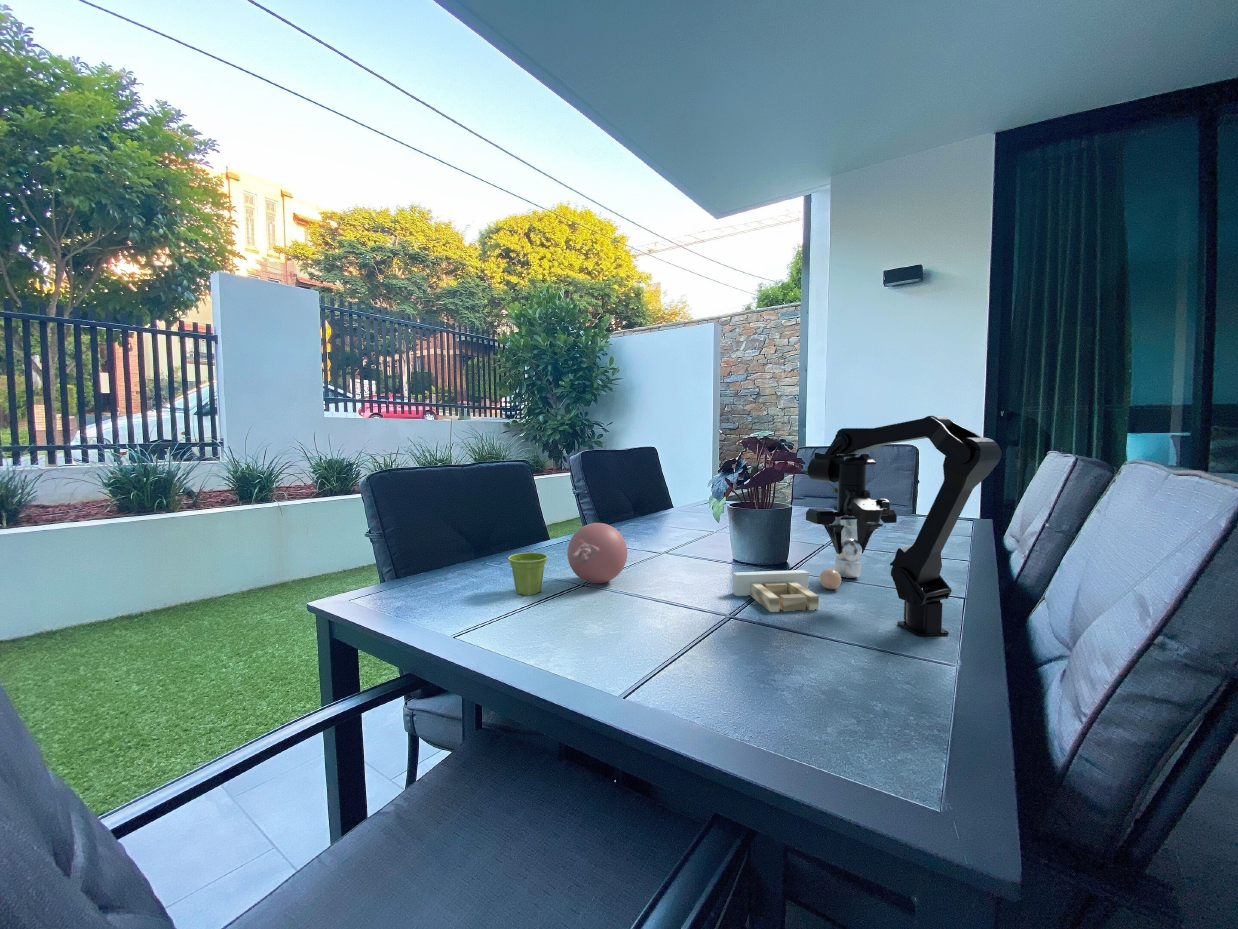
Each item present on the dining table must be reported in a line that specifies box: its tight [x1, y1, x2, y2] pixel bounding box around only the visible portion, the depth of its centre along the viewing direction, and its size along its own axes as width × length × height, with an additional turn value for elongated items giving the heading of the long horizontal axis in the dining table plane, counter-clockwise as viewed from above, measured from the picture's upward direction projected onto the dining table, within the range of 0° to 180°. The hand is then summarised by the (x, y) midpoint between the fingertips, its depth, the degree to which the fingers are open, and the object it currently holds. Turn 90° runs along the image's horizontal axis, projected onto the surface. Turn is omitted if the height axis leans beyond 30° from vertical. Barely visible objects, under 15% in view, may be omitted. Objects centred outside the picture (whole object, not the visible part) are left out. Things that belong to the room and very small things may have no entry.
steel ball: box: [840, 538, 862, 561], centre depth 116 cm, size 5×5×5 cm
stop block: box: [732, 569, 810, 597], centre depth 124 cm, size 2×18×5 cm, turn 97°
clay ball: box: [819, 568, 842, 590], centre depth 127 cm, size 5×5×5 cm
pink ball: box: [567, 522, 628, 584], centre depth 130 cm, size 15×20×15 cm
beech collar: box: [750, 582, 820, 613], centre depth 117 cm, size 11×11×3 cm
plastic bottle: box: [833, 515, 862, 579], centre depth 137 cm, size 6×7×20 cm
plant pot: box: [507, 552, 549, 596], centre depth 125 cm, size 9×9×9 cm
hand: (849, 553), depth 116 cm, fingers closed on steel ball, 5 cm apart
